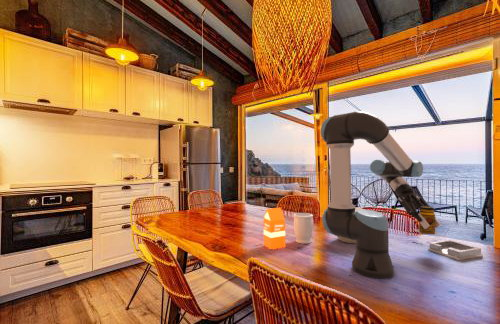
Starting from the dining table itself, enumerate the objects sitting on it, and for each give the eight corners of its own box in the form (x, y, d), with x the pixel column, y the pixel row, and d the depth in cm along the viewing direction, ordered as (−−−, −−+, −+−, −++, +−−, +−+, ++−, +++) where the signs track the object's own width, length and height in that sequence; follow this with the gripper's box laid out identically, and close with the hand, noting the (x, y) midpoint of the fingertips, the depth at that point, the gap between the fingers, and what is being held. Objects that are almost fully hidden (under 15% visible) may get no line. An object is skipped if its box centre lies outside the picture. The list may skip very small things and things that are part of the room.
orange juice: (263, 245, 132) (263, 207, 132) (277, 242, 135) (277, 206, 135) (271, 249, 124) (270, 210, 125) (285, 247, 128) (285, 208, 128)
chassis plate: (458, 260, 107) (458, 252, 107) (428, 250, 120) (428, 242, 120) (482, 256, 111) (482, 248, 111) (450, 246, 124) (450, 239, 124)
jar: (316, 241, 137) (316, 214, 137) (307, 245, 129) (306, 217, 130) (300, 237, 144) (299, 211, 144) (290, 241, 137) (289, 214, 137)
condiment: (425, 234, 111) (425, 208, 111) (412, 229, 120) (412, 205, 120) (440, 234, 112) (440, 208, 112) (426, 229, 120) (426, 205, 120)
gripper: (411, 191, 133) (442, 229, 117) (382, 193, 128) (411, 232, 112) (420, 182, 128) (454, 220, 112) (390, 183, 123) (422, 223, 107)
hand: (432, 226), depth 112 cm, fingers closed on condiment, 6 cm apart
